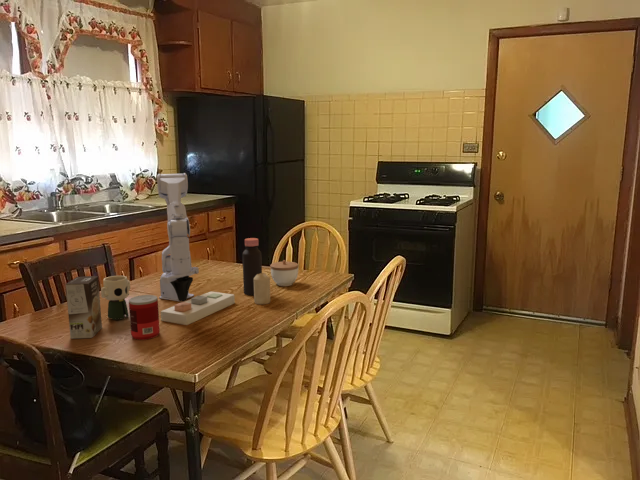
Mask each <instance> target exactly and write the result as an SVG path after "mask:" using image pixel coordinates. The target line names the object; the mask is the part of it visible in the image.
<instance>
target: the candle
mask: <svg viewBox="0 0 640 480" xmlns="http://www.w3.org/2000/svg"><path fill="white" fill-rule="evenodd" d="M253 301H254V303H255V304H256V305H267V304H270V303H271V278H270V276H268V275H267V274H266V273H265V272H262V273H260V274H257V275H256V276H255V277H254V295H253Z"/></svg>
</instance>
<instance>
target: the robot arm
mask: <svg viewBox="0 0 640 480" xmlns="http://www.w3.org/2000/svg"><path fill="white" fill-rule="evenodd" d="M156 183H157V195H158V197H159V198H160V199H163V200H164V201H165V203H166V213H167V224H166V227H167V228H166V229H167V235H168V236H167V237H168V246H167V247H165V248H164V249H163V250H162V252H161V268H162V269H161V270H162V274H161V275H160V278H159V285H160V286H159V287H160V288H159V289H160V296H159V299H163V300H170V301H175V302H185V301H188V300H187V299H189V298H193V297H195V294H193V293H190V292H189V291H190V287H191V285H192V283H193V281H194V277H191V276H193V275H196V274H197V275H198V274H199V270H200V269H199V267H198V266H192V256H191V250H190V236H191V225H190V221H189V217H188V215H187V210H186V206H185V205H184V203H183V202H182V199H183V198H184V197H186V196H187V194H188V189H189V182H188V175H187V173H186V172H183V173H157V175H156Z"/></svg>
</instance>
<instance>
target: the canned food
mask: <svg viewBox="0 0 640 480" xmlns="http://www.w3.org/2000/svg"><path fill="white" fill-rule="evenodd" d="M159 311H160V310H159V300H158V296H157V295H153V294H142V295H136V296H133V297H131V298H129V299H128V313H129V323H130V325H129V326H130V333H131V338H132V339H134V340H140V341H142V340H143V341H144V340H151V339H153V338H156V337H158V336H159V335H160V331H161V330H160V316H159V315H160V313H159Z"/></svg>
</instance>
